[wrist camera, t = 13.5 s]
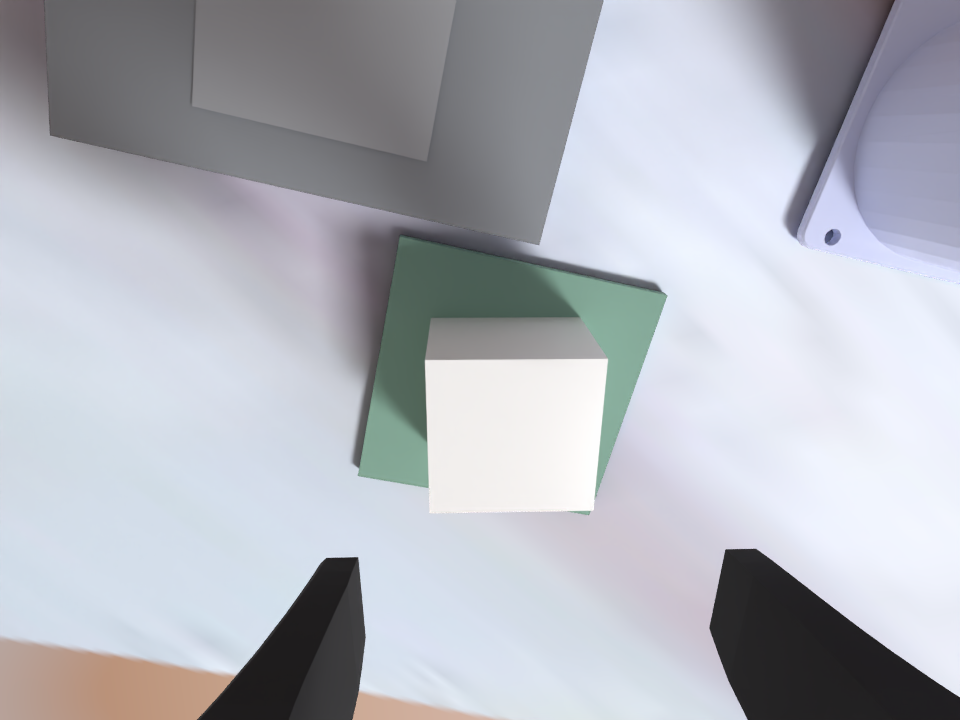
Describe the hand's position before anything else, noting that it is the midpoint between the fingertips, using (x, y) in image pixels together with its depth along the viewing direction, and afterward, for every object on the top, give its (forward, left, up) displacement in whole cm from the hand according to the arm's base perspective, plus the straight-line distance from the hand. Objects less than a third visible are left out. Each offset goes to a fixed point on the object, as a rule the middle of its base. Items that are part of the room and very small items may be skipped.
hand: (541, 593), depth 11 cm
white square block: (0, 0, -10) cm, 10 cm away
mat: (0, 0, -10) cm, 10 cm away
